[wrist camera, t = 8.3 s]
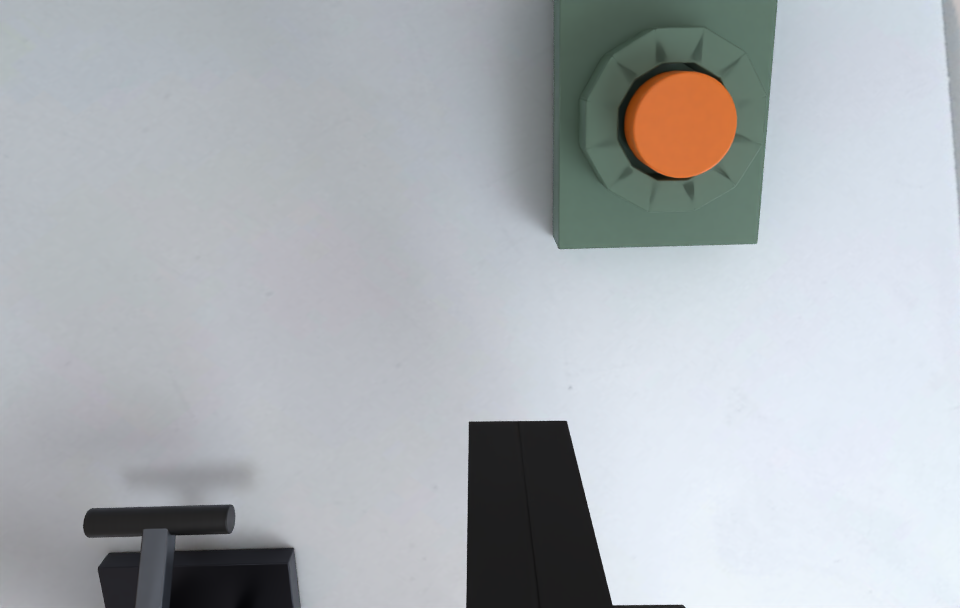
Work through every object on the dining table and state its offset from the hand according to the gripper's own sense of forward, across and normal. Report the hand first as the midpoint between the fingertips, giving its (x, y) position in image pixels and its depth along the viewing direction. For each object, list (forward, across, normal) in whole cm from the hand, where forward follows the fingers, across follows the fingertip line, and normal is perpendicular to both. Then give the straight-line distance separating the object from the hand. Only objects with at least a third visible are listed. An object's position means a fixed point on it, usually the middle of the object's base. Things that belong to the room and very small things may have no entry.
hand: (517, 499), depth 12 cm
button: (+18, +7, +4) cm, 20 cm away
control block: (+22, +7, +4) cm, 23 cm away
